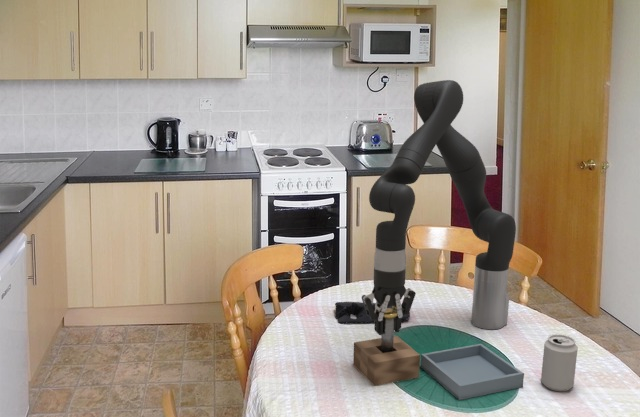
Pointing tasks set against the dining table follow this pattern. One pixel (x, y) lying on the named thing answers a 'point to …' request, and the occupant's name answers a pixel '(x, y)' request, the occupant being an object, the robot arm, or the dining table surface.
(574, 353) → the can
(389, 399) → the dining table surface
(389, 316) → the pin
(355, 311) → the dark slate chunk
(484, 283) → the robot arm
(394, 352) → the pin block
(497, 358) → the tray
